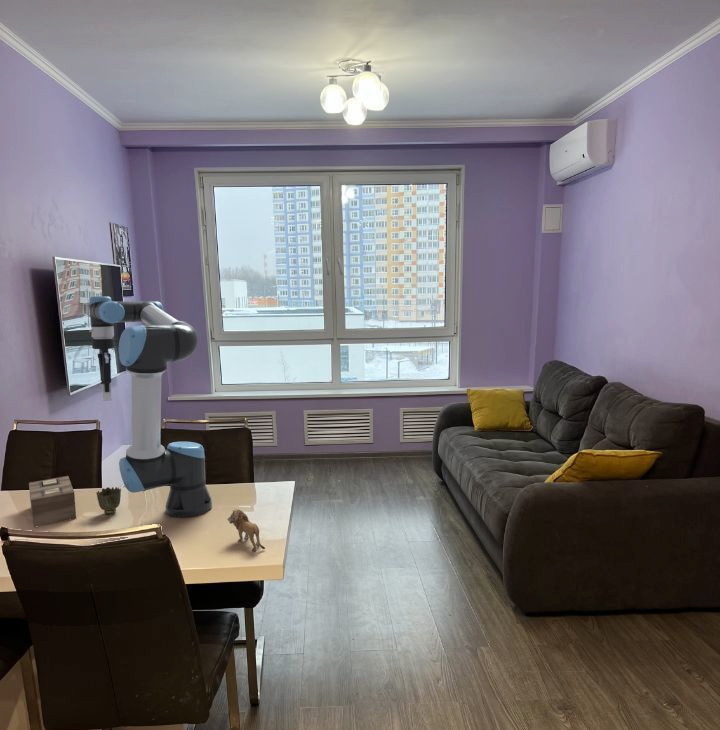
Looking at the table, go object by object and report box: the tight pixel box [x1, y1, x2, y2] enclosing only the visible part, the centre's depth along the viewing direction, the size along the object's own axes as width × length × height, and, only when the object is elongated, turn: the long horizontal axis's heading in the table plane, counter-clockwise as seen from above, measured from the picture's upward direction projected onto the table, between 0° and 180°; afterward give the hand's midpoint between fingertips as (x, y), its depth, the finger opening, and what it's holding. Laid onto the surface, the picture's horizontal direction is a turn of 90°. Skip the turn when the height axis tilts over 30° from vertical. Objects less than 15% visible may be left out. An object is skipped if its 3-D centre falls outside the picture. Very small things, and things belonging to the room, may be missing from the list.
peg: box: [43, 478, 57, 486], centre depth 179 cm, size 4×4×8 cm
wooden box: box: [28, 475, 77, 528], centre depth 175 cm, size 20×12×9 cm, turn 34°
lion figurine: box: [227, 508, 266, 552], centre depth 152 cm, size 15×5×9 cm, turn 51°
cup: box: [95, 486, 122, 516], centre depth 174 cm, size 8×7×8 cm
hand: (107, 400), depth 195 cm, fingers closed
